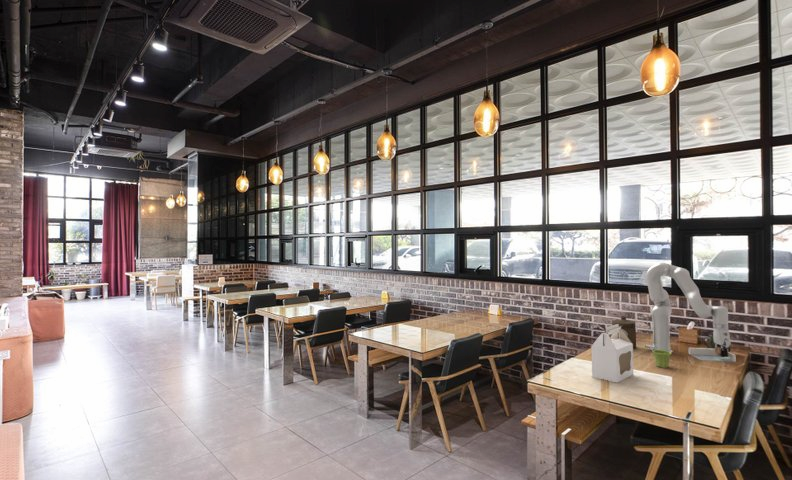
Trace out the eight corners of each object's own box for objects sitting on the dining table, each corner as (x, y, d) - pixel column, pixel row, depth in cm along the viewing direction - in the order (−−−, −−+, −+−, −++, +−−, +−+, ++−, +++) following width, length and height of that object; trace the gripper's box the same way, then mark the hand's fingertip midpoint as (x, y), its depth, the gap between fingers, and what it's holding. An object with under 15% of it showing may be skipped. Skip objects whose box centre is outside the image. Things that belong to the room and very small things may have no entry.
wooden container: (607, 345, 294) (607, 314, 294) (623, 343, 298) (623, 313, 298) (624, 350, 280) (624, 318, 280) (641, 348, 284) (640, 317, 284)
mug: (731, 356, 261) (730, 338, 261) (702, 353, 270) (702, 335, 270) (731, 353, 269) (730, 335, 269) (703, 349, 278) (703, 332, 279)
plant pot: (674, 369, 236) (674, 354, 236) (656, 368, 238) (656, 353, 238) (667, 364, 245) (667, 350, 245) (650, 363, 247) (649, 349, 247)
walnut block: (728, 356, 249) (728, 348, 250) (719, 356, 251) (719, 348, 251) (723, 354, 254) (723, 346, 254) (714, 354, 255) (714, 346, 256)
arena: (700, 361, 251) (700, 353, 251) (688, 355, 266) (688, 347, 266) (735, 362, 247) (735, 355, 247) (721, 356, 262) (721, 348, 262)
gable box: (616, 383, 213) (615, 330, 214) (591, 377, 223) (590, 326, 224) (633, 374, 227) (632, 324, 228) (609, 369, 237) (608, 321, 238)
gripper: (735, 329, 244) (736, 359, 243) (719, 323, 260) (720, 352, 260) (721, 328, 245) (722, 358, 245) (706, 323, 262) (707, 351, 262)
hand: (721, 355), depth 252 cm, fingers closed on walnut block, 5 cm apart
